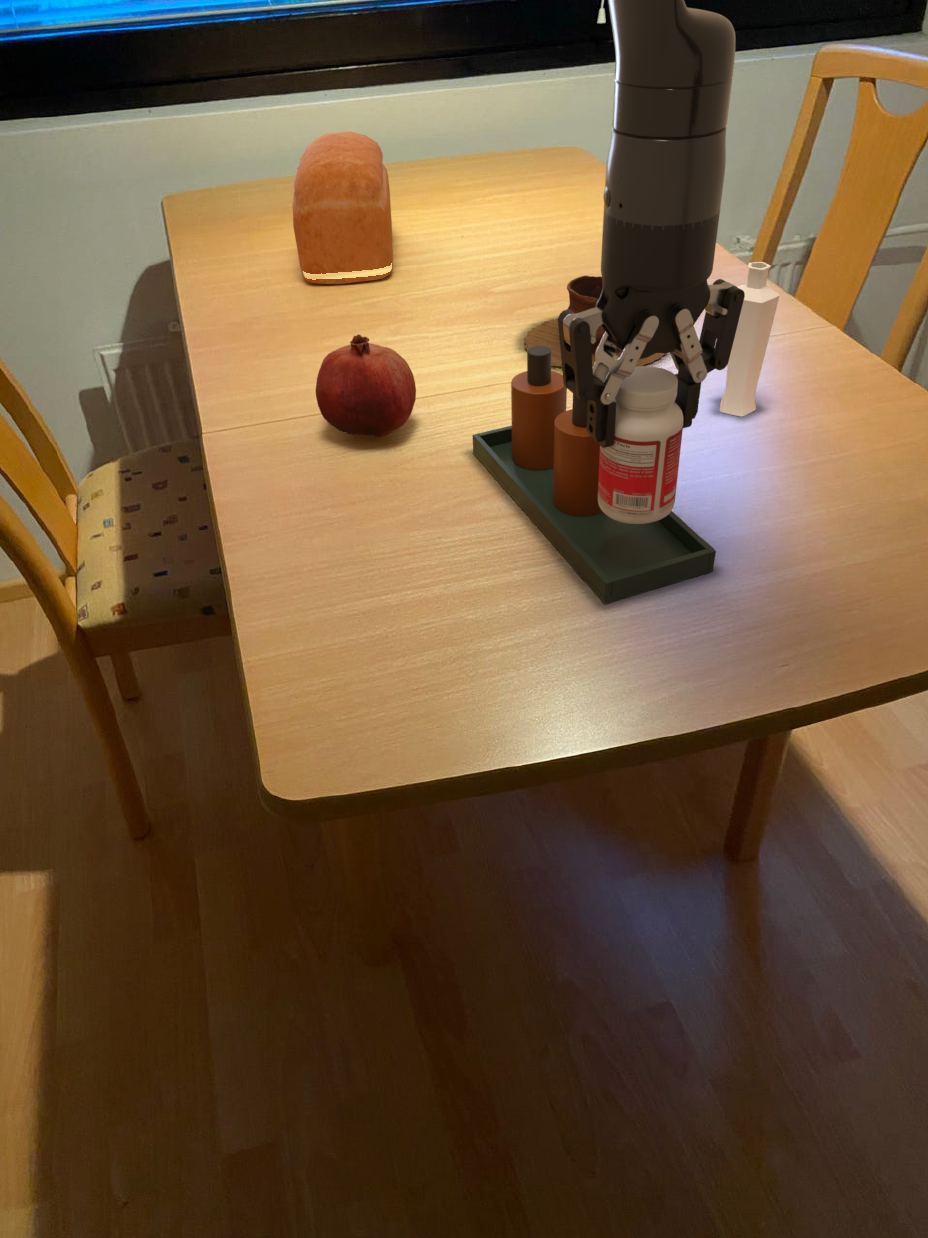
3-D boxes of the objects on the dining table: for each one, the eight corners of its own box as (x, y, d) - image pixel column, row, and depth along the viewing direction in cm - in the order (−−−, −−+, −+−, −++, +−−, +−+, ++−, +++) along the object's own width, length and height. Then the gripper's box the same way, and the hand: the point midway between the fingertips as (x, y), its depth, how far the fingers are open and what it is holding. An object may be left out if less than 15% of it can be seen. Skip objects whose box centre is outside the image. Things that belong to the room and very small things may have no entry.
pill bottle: (650, 480, 79) (662, 355, 72) (688, 516, 74) (705, 387, 67) (583, 496, 77) (589, 370, 70) (618, 534, 73) (628, 404, 66)
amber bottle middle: (592, 481, 88) (598, 371, 81) (620, 507, 84) (629, 395, 77) (543, 494, 86) (544, 383, 79) (569, 521, 82) (573, 408, 75)
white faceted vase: (765, 403, 99) (790, 260, 90) (751, 420, 97) (775, 275, 87) (723, 394, 101) (744, 254, 92) (708, 410, 99) (728, 268, 89)
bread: (299, 288, 133) (281, 168, 123) (309, 231, 153) (294, 125, 143) (395, 281, 133) (385, 162, 123) (393, 226, 153) (383, 120, 143)
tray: (563, 431, 97) (563, 412, 95) (713, 571, 77) (716, 550, 76) (472, 453, 94) (472, 434, 93) (604, 604, 74) (605, 583, 73)
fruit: (304, 427, 100) (289, 337, 93) (381, 399, 104) (372, 311, 98) (357, 465, 93) (344, 371, 87) (437, 433, 97) (431, 341, 91)
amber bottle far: (550, 439, 94) (552, 334, 87) (574, 462, 90) (578, 355, 83) (503, 451, 93) (501, 345, 86) (525, 475, 89) (525, 366, 82)
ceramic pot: (627, 305, 122) (631, 250, 118) (698, 356, 109) (706, 296, 105) (500, 329, 118) (499, 273, 114) (559, 385, 105) (560, 324, 101)
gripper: (592, 236, 56) (581, 477, 67) (789, 200, 60) (749, 433, 71) (537, 205, 61) (535, 432, 72) (721, 174, 65) (694, 394, 76)
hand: (641, 432), depth 71 cm, fingers closed on pill bottle, 6 cm apart
